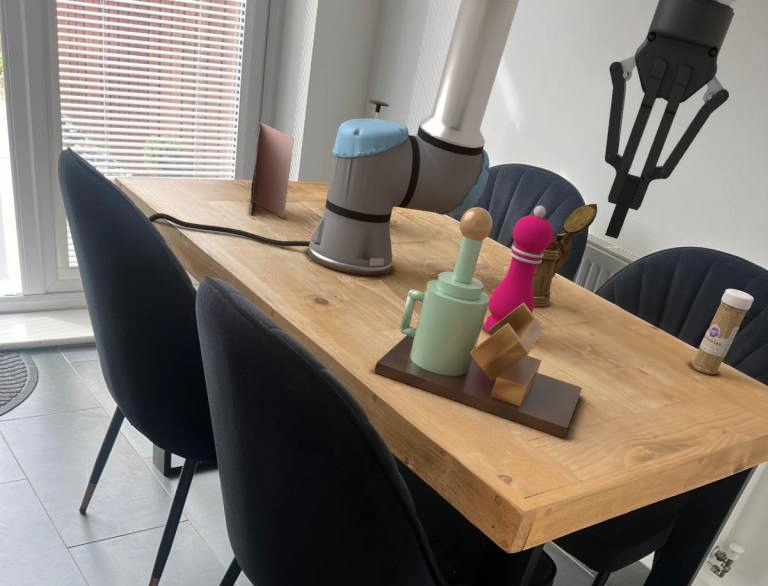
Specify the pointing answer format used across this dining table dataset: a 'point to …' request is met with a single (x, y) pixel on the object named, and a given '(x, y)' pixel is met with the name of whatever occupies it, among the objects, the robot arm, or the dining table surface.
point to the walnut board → (487, 391)
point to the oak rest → (511, 355)
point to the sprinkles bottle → (722, 331)
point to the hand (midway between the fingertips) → (612, 234)
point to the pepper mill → (521, 266)
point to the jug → (451, 306)
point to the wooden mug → (549, 264)
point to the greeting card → (272, 169)
